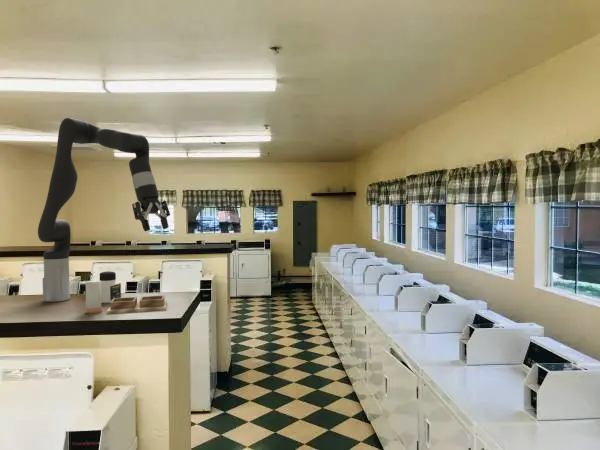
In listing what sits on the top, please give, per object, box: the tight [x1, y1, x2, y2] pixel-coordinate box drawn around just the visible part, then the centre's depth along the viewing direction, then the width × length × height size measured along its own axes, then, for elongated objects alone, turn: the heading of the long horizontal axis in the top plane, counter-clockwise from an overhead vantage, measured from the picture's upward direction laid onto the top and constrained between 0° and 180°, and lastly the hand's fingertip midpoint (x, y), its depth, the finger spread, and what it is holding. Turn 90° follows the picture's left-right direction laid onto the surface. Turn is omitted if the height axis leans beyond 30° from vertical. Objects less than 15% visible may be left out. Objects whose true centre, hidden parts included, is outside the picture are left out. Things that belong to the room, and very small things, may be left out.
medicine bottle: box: [99, 270, 122, 304], centre depth 185 cm, size 7×7×12 cm
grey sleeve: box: [85, 280, 103, 315], centre depth 165 cm, size 5×5×11 cm
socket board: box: [106, 294, 168, 315], centre depth 171 cm, size 20×14×4 cm
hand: (156, 229), depth 164 cm, fingers open, 8 cm apart
